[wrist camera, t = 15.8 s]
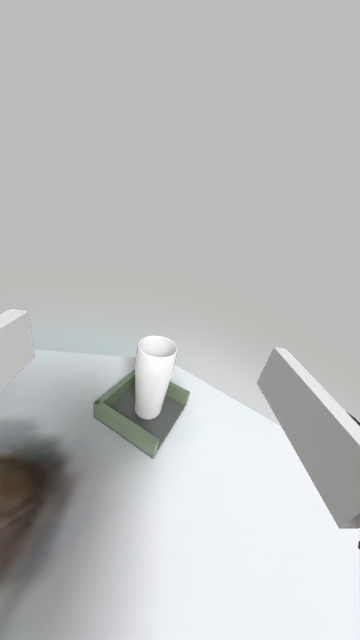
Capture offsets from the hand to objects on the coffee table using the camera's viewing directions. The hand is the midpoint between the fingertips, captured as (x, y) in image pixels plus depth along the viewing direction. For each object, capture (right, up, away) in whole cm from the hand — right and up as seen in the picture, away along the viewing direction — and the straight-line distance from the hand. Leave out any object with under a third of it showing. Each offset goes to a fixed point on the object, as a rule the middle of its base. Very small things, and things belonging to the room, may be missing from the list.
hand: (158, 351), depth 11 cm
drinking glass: (-5, -16, +27) cm, 32 cm away
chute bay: (-6, -16, +28) cm, 33 cm away
